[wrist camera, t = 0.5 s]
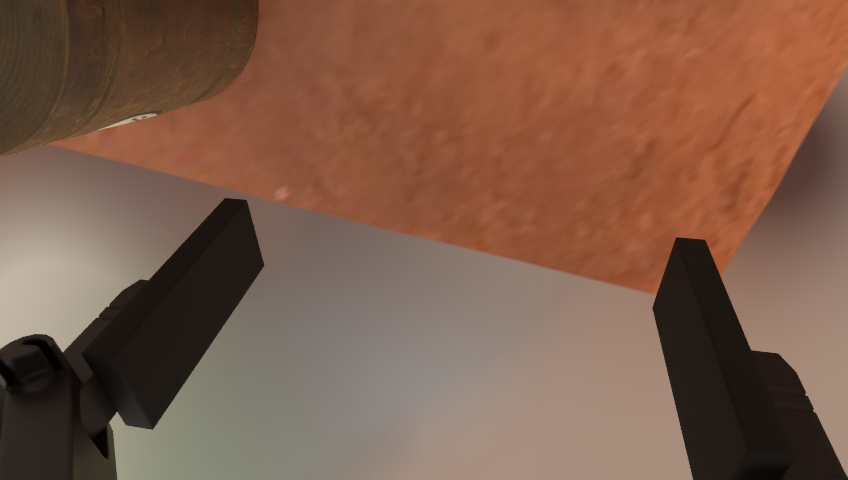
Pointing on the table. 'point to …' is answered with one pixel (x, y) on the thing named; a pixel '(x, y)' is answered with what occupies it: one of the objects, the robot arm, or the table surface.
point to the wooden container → (112, 62)
